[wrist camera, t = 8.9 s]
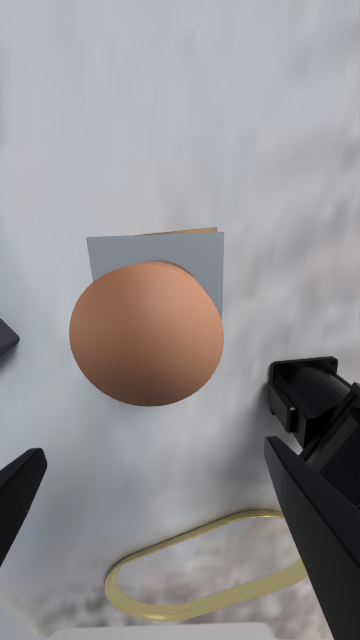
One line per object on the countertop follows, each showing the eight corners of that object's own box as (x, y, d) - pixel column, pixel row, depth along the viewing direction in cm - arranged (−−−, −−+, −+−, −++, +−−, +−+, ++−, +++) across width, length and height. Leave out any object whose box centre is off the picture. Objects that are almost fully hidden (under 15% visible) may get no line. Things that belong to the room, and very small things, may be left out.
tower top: (211, 238, 14) (224, 232, 10) (210, 332, 16) (220, 356, 12) (111, 242, 14) (86, 237, 10) (123, 335, 16) (105, 360, 12)
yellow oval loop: (83, 566, 33) (79, 581, 31) (286, 484, 27) (292, 497, 26) (149, 616, 38) (148, 631, 36) (333, 555, 32) (340, 570, 30)
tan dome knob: (201, 255, 11) (221, 256, 6) (206, 342, 12) (225, 399, 7) (106, 265, 11) (49, 273, 6) (123, 350, 12) (89, 412, 7)
